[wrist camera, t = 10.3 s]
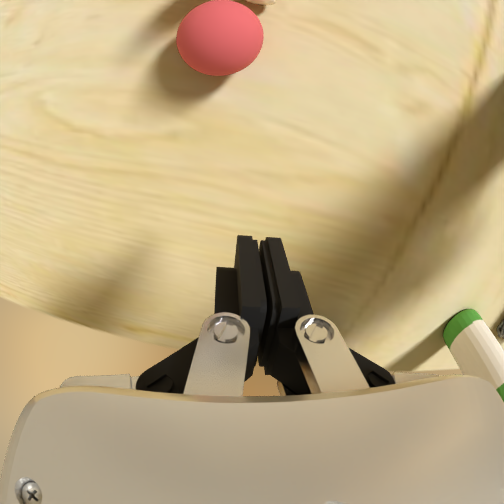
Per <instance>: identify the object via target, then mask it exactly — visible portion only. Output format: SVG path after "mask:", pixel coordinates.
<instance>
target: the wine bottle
mask: <svg viewBox="0 0 504 504" xmlns="http://www.w3.org/2000/svg"><path fill="white" fill-rule="evenodd" d="M443 338H444V341H445V343H446V345H447V346H448V348H449V350H450V352H451V354H452V355H453V357H454V359H455V361H456V362H457V364H458V366H459V368H460V370H461V371H462V373H463V375H470V376H476V377H479V378H482V379H484V380H487V381H488V382H489V383H491V384H492V385H493V387H494V388H495V389H496V391H497V392H498V394H499V395H500V397H501V398H502V400H503V402H504V350H503V349H502V347H501V345H500V344H499V342H498V341H497V339H496V338H495V336H494V335H493V333H492V332H491V331H490V329H489V328H488V326H487V325H486V323H485V322H484V321H483V319H482V318H481V317H480V315H479V314H478V313H477V312H476V311H475V310H473V309H466V310H463V311H461V312H460V313H458V314H457V315H456V316H454V317H453V318H452V319H451V320H450V322H449V323H448V324H447V326H446V327H445V330H444V333H443Z"/></svg>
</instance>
